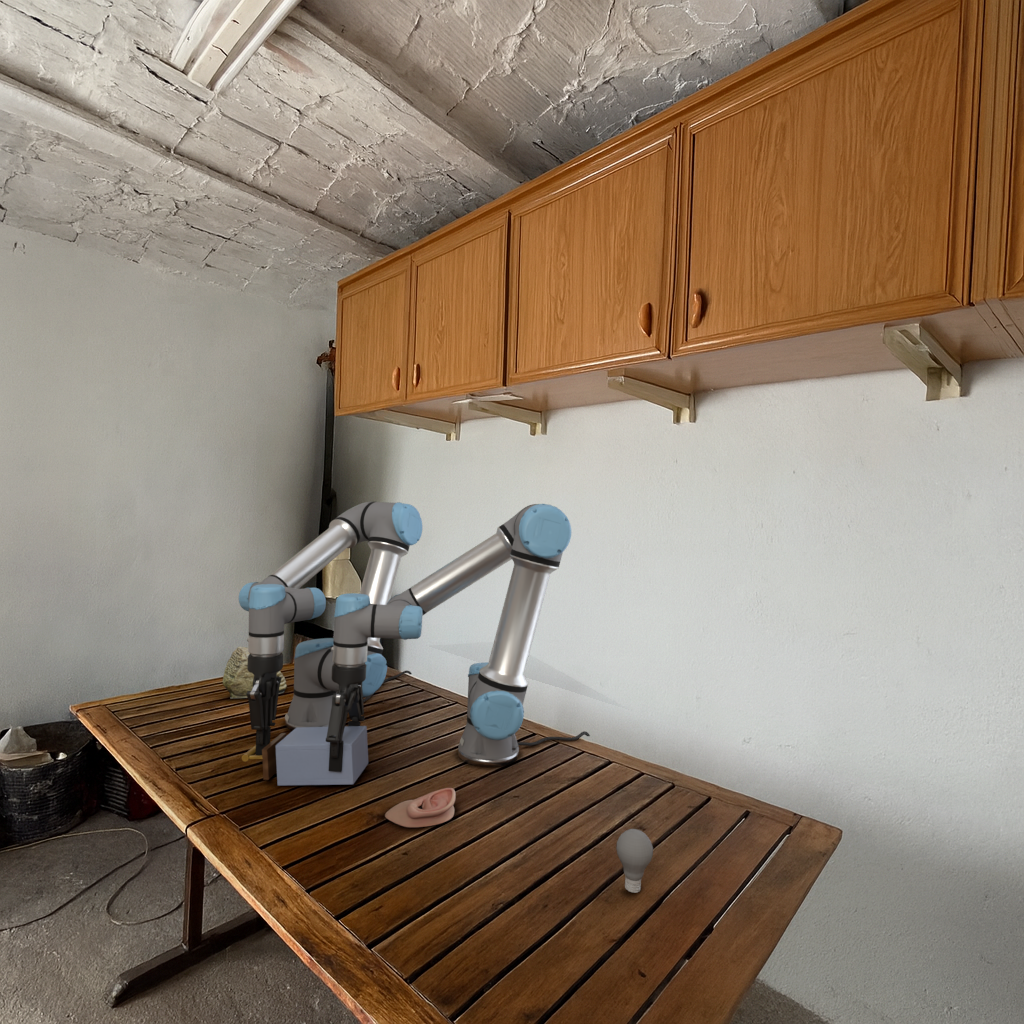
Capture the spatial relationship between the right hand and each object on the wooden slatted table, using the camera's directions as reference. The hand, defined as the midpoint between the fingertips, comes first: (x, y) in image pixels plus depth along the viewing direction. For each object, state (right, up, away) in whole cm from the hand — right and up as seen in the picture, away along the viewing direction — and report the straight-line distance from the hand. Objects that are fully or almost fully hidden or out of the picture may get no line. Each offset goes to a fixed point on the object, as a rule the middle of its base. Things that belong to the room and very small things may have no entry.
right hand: (344, 759), depth 143 cm
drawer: (-11, -3, +1) cm, 12 cm away
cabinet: (-5, -3, 0) cm, 6 cm away
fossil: (-43, -1, +55) cm, 70 cm away
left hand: (-19, 0, +1) cm, 19 cm away
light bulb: (+58, -8, -37) cm, 69 cm away
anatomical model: (+19, -5, -15) cm, 25 cm away
